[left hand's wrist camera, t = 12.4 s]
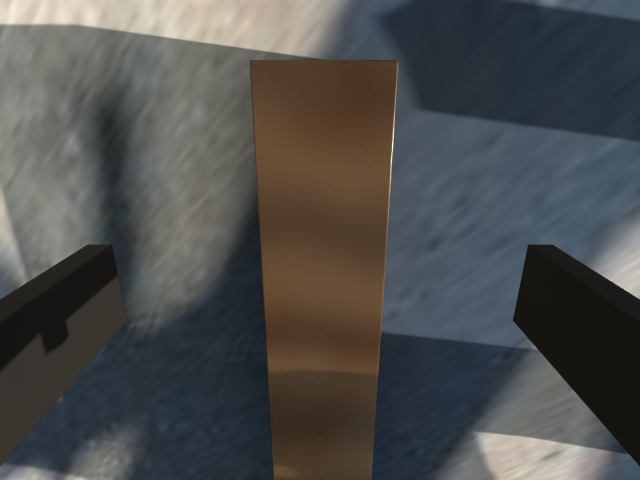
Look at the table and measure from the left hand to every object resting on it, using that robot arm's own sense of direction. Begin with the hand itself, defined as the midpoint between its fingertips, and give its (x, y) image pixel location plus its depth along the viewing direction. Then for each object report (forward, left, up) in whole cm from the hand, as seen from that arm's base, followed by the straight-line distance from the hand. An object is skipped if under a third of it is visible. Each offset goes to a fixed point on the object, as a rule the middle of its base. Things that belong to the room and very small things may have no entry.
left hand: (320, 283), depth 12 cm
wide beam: (+21, +24, -22) cm, 39 cm away
